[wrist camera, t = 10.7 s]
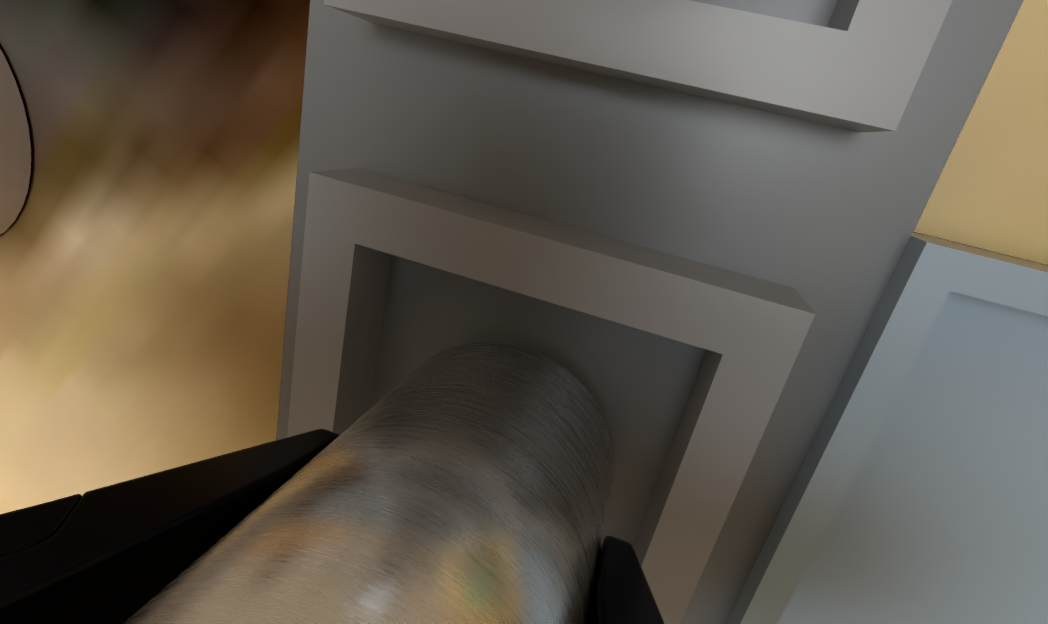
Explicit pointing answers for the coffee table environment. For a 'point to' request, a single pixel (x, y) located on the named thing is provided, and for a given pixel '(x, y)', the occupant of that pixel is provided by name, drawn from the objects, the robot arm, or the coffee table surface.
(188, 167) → the coffee table surface
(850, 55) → the grey flat frame
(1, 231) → the candle
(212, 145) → the coffee table surface
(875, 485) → the blue gray square tray
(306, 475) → the cylinder
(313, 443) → the robot arm
